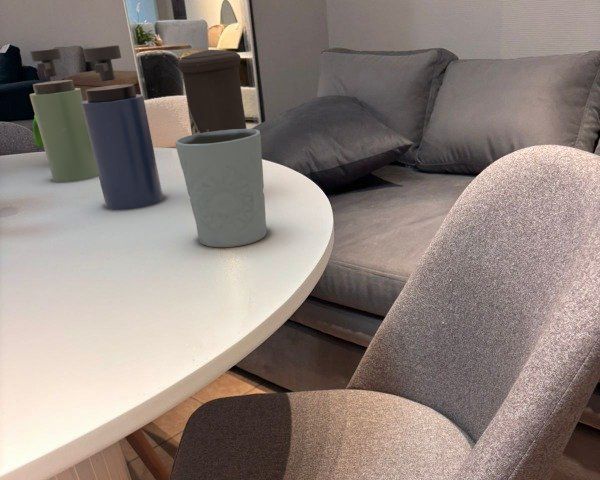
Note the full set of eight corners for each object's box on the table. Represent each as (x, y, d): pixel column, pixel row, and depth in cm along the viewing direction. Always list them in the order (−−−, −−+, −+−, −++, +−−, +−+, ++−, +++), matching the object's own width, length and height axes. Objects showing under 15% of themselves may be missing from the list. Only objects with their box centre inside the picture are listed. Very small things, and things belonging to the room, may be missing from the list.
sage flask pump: (40, 76, 117) (33, 50, 114) (68, 73, 117) (61, 47, 115) (29, 80, 110) (22, 52, 108) (59, 77, 110) (52, 49, 108)
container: (194, 195, 102) (169, 53, 91) (246, 185, 104) (229, 46, 94) (209, 206, 95) (184, 54, 84) (265, 195, 97) (248, 46, 87)
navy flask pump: (93, 80, 94) (86, 48, 92) (127, 76, 95) (120, 44, 92) (84, 85, 88) (75, 50, 85) (120, 81, 88) (113, 46, 86)
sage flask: (58, 174, 127) (33, 82, 119) (104, 169, 128) (82, 77, 119) (48, 184, 120) (21, 87, 111) (97, 178, 120) (73, 81, 111)
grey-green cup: (229, 254, 75) (212, 146, 68) (176, 241, 81) (156, 141, 75) (288, 230, 81) (278, 129, 74) (234, 220, 87) (221, 126, 81)
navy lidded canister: (110, 198, 105) (84, 88, 96) (164, 192, 105) (143, 81, 97) (101, 212, 97) (72, 93, 89) (161, 205, 98) (137, 86, 89)
